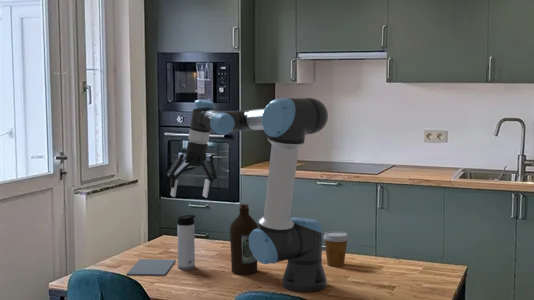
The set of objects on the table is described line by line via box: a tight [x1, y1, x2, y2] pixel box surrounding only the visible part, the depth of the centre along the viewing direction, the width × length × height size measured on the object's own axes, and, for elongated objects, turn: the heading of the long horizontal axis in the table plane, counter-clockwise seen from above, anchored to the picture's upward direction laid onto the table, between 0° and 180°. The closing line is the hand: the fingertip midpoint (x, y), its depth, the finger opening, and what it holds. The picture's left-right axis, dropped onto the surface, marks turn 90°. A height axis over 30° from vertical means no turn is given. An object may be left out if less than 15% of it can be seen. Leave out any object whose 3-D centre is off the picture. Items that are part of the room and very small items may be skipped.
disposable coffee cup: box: [322, 231, 349, 268], centre depth 252 cm, size 10×10×12 cm
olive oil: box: [229, 203, 258, 276], centre depth 242 cm, size 11×11×25 cm
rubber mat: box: [126, 258, 176, 277], centre depth 248 cm, size 20×14×1 cm
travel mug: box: [177, 214, 196, 271], centre depth 248 cm, size 6×7×20 cm
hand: (189, 196), depth 250 cm, fingers open, 13 cm apart
